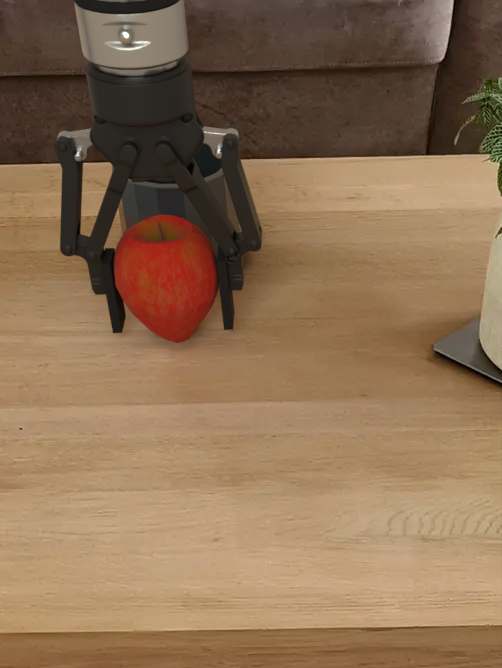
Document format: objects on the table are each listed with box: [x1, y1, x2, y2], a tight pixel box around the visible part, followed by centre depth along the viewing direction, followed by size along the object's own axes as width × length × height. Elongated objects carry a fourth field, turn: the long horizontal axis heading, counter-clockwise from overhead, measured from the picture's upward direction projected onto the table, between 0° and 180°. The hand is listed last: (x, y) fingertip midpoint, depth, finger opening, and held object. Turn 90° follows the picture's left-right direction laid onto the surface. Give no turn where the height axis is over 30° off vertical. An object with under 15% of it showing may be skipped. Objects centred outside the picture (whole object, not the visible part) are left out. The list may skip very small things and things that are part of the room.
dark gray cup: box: [111, 143, 244, 261], centre depth 107 cm, size 11×11×10 cm
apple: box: [113, 215, 219, 343], centre depth 96 cm, size 9×8×11 cm
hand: (174, 322), depth 99 cm, fingers closed on apple, 8 cm apart
